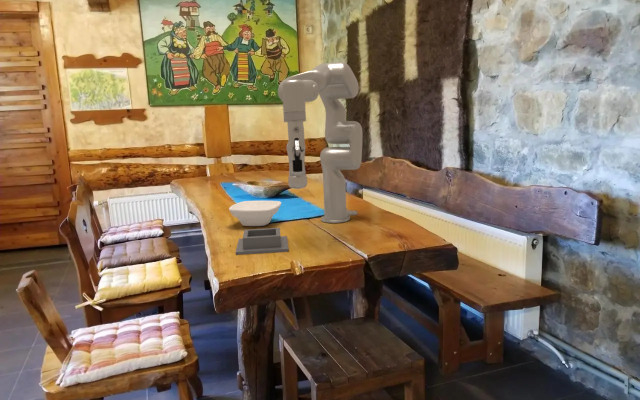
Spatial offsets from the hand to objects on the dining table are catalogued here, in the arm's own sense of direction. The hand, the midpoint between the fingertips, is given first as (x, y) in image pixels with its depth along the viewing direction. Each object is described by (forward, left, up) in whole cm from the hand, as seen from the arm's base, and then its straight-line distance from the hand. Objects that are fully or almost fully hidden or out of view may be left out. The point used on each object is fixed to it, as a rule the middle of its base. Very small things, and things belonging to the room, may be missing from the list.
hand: (297, 170), depth 165 cm
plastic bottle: (0, 0, -7) cm, 7 cm away
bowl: (+16, -37, -28) cm, 49 cm away
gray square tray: (+13, -3, -27) cm, 31 cm away
